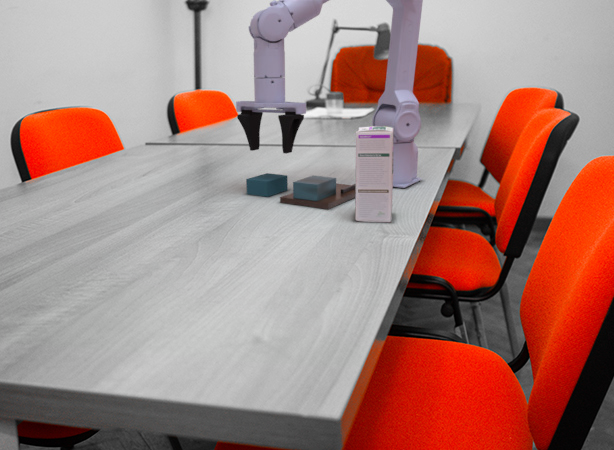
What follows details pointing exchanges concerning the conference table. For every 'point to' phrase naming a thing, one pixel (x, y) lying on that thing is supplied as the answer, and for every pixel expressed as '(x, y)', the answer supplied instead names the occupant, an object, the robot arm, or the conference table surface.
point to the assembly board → (323, 202)
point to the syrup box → (374, 174)
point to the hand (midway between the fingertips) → (270, 151)
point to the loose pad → (267, 184)
